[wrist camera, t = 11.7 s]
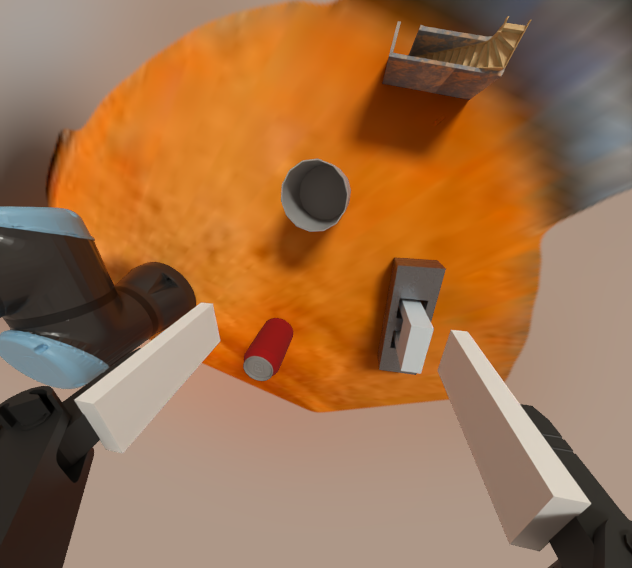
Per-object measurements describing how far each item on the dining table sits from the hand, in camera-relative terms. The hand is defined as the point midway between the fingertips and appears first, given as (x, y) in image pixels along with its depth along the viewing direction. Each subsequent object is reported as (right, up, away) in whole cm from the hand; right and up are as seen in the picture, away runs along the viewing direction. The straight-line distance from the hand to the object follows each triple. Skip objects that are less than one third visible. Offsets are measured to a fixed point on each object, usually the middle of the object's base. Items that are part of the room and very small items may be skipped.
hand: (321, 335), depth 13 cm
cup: (+1, +18, +24) cm, 30 cm away
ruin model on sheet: (+14, +29, +16) cm, 37 cm away
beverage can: (-8, -7, +37) cm, 39 cm away
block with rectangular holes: (+17, -3, +30) cm, 35 cm away
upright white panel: (+17, -3, +30) cm, 35 cm away
